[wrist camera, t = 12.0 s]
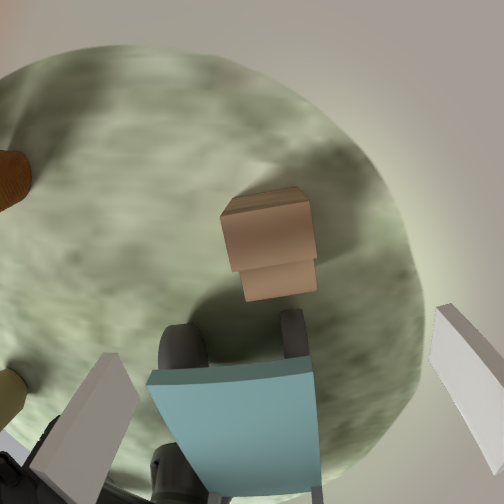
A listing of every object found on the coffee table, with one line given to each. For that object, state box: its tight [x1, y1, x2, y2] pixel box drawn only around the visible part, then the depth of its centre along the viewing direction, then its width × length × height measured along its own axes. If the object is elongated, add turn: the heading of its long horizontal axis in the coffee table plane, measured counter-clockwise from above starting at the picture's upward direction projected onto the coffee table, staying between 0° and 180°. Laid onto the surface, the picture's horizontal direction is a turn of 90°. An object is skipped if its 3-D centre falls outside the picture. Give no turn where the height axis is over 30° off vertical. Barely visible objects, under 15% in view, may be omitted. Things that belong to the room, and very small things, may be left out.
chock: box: [220, 187, 317, 302], centre depth 25 cm, size 8×6×8 cm
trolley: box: [146, 309, 324, 504], centre depth 26 cm, size 22×13×18 cm, turn 10°
